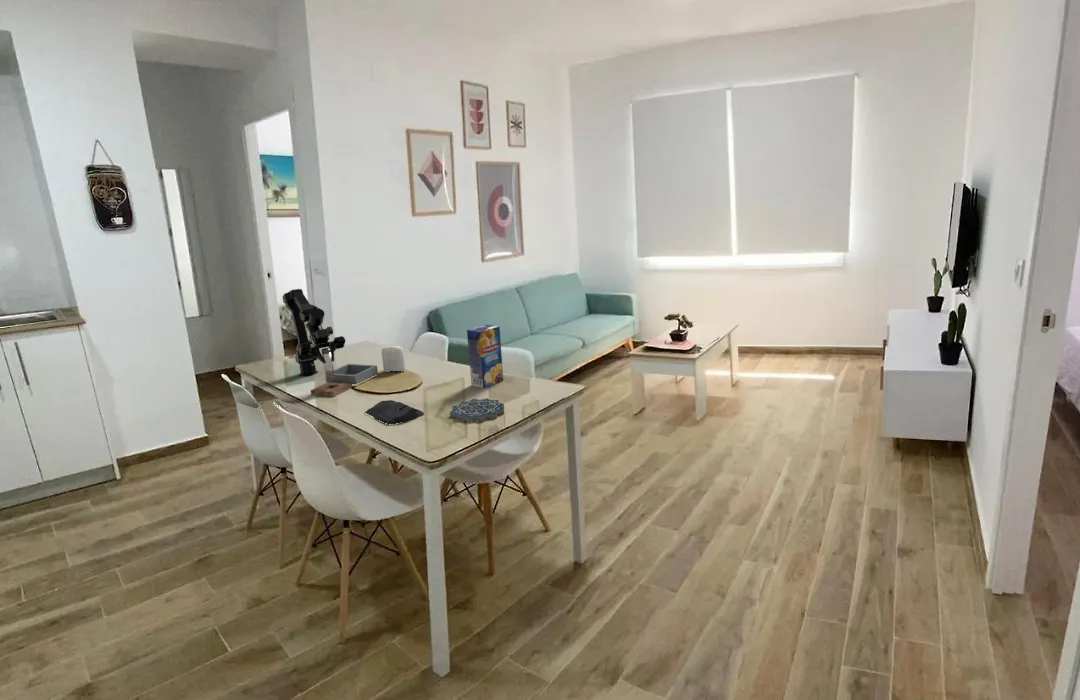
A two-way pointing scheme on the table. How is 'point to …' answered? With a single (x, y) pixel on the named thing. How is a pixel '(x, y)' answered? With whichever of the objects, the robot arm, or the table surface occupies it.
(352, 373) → the tray
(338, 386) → the bracket
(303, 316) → the robot arm
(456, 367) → the table surface
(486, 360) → the juice carton
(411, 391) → the table surface
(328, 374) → the clear glass cylinder
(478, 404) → the decorative tile
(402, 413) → the dark slate chunk
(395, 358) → the photo printer
